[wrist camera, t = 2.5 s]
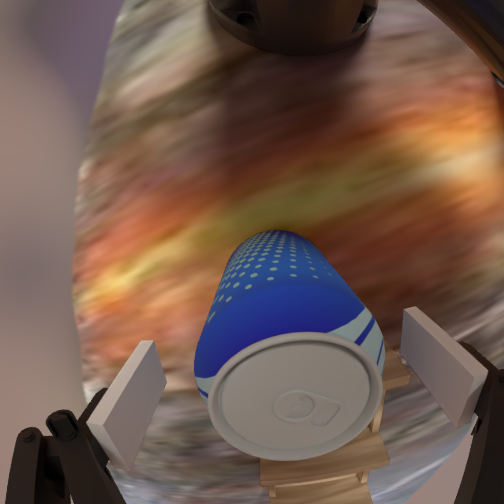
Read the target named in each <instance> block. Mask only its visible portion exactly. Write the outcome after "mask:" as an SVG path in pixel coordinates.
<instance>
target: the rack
mask: <svg viewBox="0 0 504 504" xmlns="http://www.w3.org/2000/svg"><path fill="white" fill-rule="evenodd" d="M383 340H384V346H385V364H384V370H383V374H382V382H383V393H382V399H381V403H380V406H379V408H378V410H377V412H376V414H375V416H374V418H373V419H372V420H371V422H370V423H369V424H368V426H367V427H366V428H365V429H364V430H363V431H362V432H361V433H360V434H359V435H358V436H356V437H355V438H354V439H352V440H351V441H350V442H348V443H347V444H345V445H343V446H342V447H340V448H338V449H336V450H334V451H331V452H329V453H326V454H324V455H320V456H317V457H313V458H309V459H303V460H295V461H277V460H268V459H263V458H260V484H261V486H268V491H269V496H270V504H373V502H372V499H371V496H370V492H369V489H368V486H367V482H366V481H367V478H368V474H369V470H370V469H374V468H377V467H381V466H385V465H388V464H389V461H390V458H389V456H388V453H387V451H386V448H385V446H384V443H383V441H382V439H381V436H380V434H379V426H380V421H381V416H382V410H383V404H384V398H385V392H386V390H388V389H392V388H396V387H400V386H404V385H407V384H409V380H410V375H411V374H410V373H409V371H408V370H407V369H406V367H405V366H404V364H403V363H402V362H401V360H400V359H399V357H398V356H397V355H396V353H395V352H394V351H393V349H392V348H391V346H390V345H389V344H388V342H387V341H386V340H385V338H384V337H383Z"/></svg>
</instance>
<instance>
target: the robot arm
mask: <svg viewBox="0 0 504 504" xmlns="http://www.w3.org/2000/svg"><path fill="white" fill-rule="evenodd" d="M208 1H209V4H210V8H211V10H212V12H213V14H214V16H215V18H216V19H217V21H218V22H219V23H220V24H221V25H222V26H223V27H224V28H225V29H226V30H227V31H228V32H229V33H231V34H232V35H234V36H235V37H237V38H238V39H240V40H242V41H243V42H245V43H247V44H250V45H252V46H254V47H257V48H260V49H263V50H266V51H270V52H274V53H279V54H285V55H296V56H310V55H320V54H326V53H330V52H334V51H337V50H339V49H342V48H344V47H346V46H348V45H350V44H351V43H353V42H354V41H356V40H357V39H358V38H359V37H360V36H361V35H362V34H363V33H364V31H365V30H366V29H367V27H368V26H369V25H370V23H371V22H372V20H373V18H374V16H375V14H376V11H377V6H378V0H208ZM417 1H418V2H420V3H421V4H422V5H423V6H425V7H426V8H427V9H428V10H430V11H431V12H432V13H433V14H434V15H436V16H437V17H438V18H439V19H440V20H441V21H443V22H444V23H445V24H446V25H447V26H448V27H449V28H450V29H451V30H453V31H454V32H455V33H456V34H457V35H458V36H459V37H460V38H461V39H462V40H463V41H464V42H465V43H466V44H467V45H468V46H469V47H470V48H471V49H472V50H473V51H474V52H475V53H476V54H477V55H478V56H479V57H480V59H481V60H482V61H483V62H484V63H485V64H486V65H487V66H488V67H489V69H490V70H491V72H492V74H493V76H494V77H495V79H496V81H497V82H498V84H499V85H500V86H501V87H502V88H503V89H504V0H417ZM400 354H401V355H402V356H403V358H404V359H405V360H406V361H407V363H408V364H409V365H410V367H411V368H412V369H413V371H414V372H415V373H416V375H417V376H418V377H419V378H420V380H421V381H422V382H423V384H424V385H425V386H426V388H427V389H428V390H429V392H430V393H431V394H432V396H433V397H434V399H435V400H436V401H437V403H438V404H439V405H440V407H441V408H442V409H443V411H444V412H445V414H446V415H447V416H448V418H449V419H450V421H451V422H452V423H453V425H454V426H455V428H459V427H461V426H463V425H465V424H467V423H469V422H470V421H471V419H472V416H473V414H474V412H475V413H476V415H477V416H478V420H477V422H476V424H475V426H474V428H473V431H472V433H471V435H473V434H474V435H473V440H472V444H471V448H470V453H469V457H468V460H467V464H466V468H465V471H464V475H463V478H462V481H461V484H460V487H459V490H458V493H457V496H456V499H455V502H454V504H504V369H501V370H498V369H497V368H496V367H495V366H494V365H493V364H492V363H490V362H489V361H488V360H487V359H486V358H485V357H484V356H483V357H482V355H481V354H480V353H479V352H477V350H476V349H475V348H473V347H472V346H471V345H469V344H467V343H464V342H460V343H458V342H456V341H455V340H454V339H453V338H452V337H451V336H450V335H449V334H447V333H446V332H445V331H444V330H443V329H442V328H441V327H439V326H438V325H437V324H436V323H435V322H434V321H432V320H431V319H430V318H429V317H428V316H427V315H425V314H424V313H423V312H422V311H421V310H419V309H418V308H417V307H416V306H415V307H410V308H406V309H404V310H403V324H402V336H401V346H400ZM166 383H167V381H166V378H165V375H164V372H163V369H162V365H161V362H160V359H159V356H158V353H157V349H156V346H155V342H154V340H148V341H140V343H139V344H138V346H137V347H136V349H135V350H134V352H133V353H132V354H131V356H130V357H129V359H128V360H127V362H126V363H125V365H124V366H123V368H122V369H121V371H120V372H119V374H118V375H117V376H116V378H115V379H114V381H113V382H112V384H111V385H110V387H109V388H103V389H101V390H100V391H99V392H97V393H96V394H95V396H94V397H93V399H92V400H91V402H90V403H89V404H88V406H87V408H86V409H85V410H84V412H83V413H82V415H81V416H80V417H79V419H78V420H77V419H76V418H75V416H74V414H73V413H72V412H71V411H69V410H58V411H56V412H54V413H52V414H51V415H49V416H48V418H47V420H46V425H47V427H48V428H49V430H50V432H51V433H52V435H53V436H43V435H42V433H41V432H40V430H39V429H38V428H35V427H29V428H26V429H24V430H22V431H21V432H20V433H19V434H18V437H17V440H16V444H15V448H14V453H13V458H12V463H11V468H10V473H9V479H8V486H7V493H6V501H5V504H71V500H70V499H71V498H70V494H71V497H72V500H73V503H74V504H126V502H125V500H124V498H123V497H122V495H121V493H120V491H119V489H118V487H117V485H116V483H115V482H114V480H113V478H112V476H111V474H110V471H109V470H108V468H107V467H106V465H107V463H108V460H109V461H110V462H111V463H112V465H113V466H114V468H117V469H123V470H129V471H131V468H132V466H133V463H134V461H135V458H136V456H137V453H138V451H139V448H140V446H141V443H142V441H143V438H144V436H145V433H146V431H147V429H148V426H149V424H150V421H151V419H152V416H153V414H154V412H155V409H156V407H157V404H158V402H159V400H160V397H161V395H162V393H163V390H164V388H165V386H166Z"/></svg>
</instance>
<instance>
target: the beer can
mask: <svg viewBox="0 0 504 504" xmlns="http://www.w3.org/2000/svg"><path fill="white" fill-rule="evenodd" d="M384 364H385V346H384V340H383V336H382V333H381V330H380V328H379V326H378V324H377V322H376V320H375V318H374V317H373V316H372V314H371V313H370V311H369V310H368V309H367V308H366V306H365V305H364V304H363V303H362V301H361V300H360V299H359V298H358V296H357V295H356V294H355V293H354V292H353V290H352V289H351V288H350V287H349V285H348V284H347V283H346V282H345V281H344V279H343V278H342V277H341V276H340V275H339V273H338V272H337V271H336V270H335V269H334V267H333V266H332V265H331V264H330V263H329V261H328V260H327V259H326V258H325V257H324V256H323V254H322V253H321V252H320V251H319V250H318V249H317V247H316V246H315V245H314V244H313V243H311V242H310V241H309V240H307V239H306V238H304V237H302V236H300V235H298V234H296V233H293V232H288V231H281V230H274V231H267V232H262V233H259V234H257V235H254V236H252V237H250V238H249V239H247V240H246V241H244V242H243V243H242V244H241V245H240V246H239V247H238V248H237V249H236V250H235V251H234V252H233V254H232V255H231V257H230V259H229V261H228V263H227V266H226V268H225V271H224V274H223V276H222V279H221V282H220V284H219V287H218V290H217V293H216V295H215V298H214V301H213V303H212V306H211V309H210V312H209V314H208V317H207V320H206V323H205V325H204V328H203V331H202V334H201V336H200V339H199V342H198V345H197V349H196V353H195V360H194V373H195V380H196V384H197V387H198V390H199V392H200V395H201V397H202V399H203V401H204V402H205V404H206V405H207V406H208V413H209V417H210V419H211V422H212V424H213V426H214V428H215V429H216V431H217V432H218V433H219V435H220V436H221V437H222V438H223V439H224V440H225V441H226V442H228V443H229V444H230V445H232V446H233V447H235V448H236V449H238V450H240V451H242V452H244V453H247V454H249V455H252V456H255V457H259V458H263V459H268V460H277V461H295V460H303V459H309V458H313V457H317V456H320V455H324V454H326V453H329V452H331V451H334V450H336V449H338V448H340V447H342V446H343V445H345V444H347V443H348V442H350V441H351V440H352V439H354V438H355V437H356V436H358V435H359V434H360V433H361V432H362V431H363V430H364V429H365V428H366V427H367V426H368V424H369V423H370V422H371V420H372V419H373V418H374V416H375V414H376V412H377V410H378V408H379V406H380V403H381V399H382V393H383V382H382V374H383V370H384Z"/></svg>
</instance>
